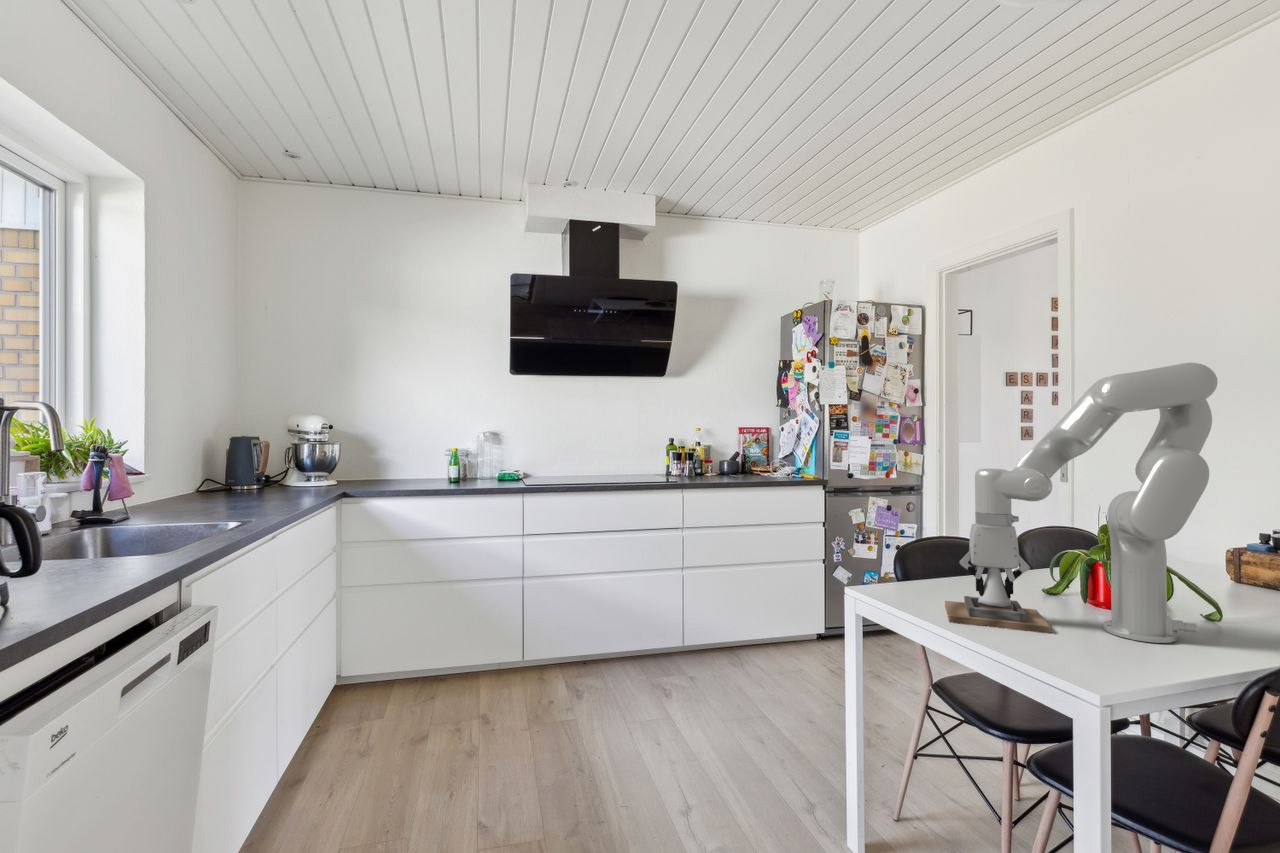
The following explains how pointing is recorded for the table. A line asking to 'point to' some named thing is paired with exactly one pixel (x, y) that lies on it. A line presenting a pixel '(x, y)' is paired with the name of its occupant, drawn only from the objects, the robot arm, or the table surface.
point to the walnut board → (995, 615)
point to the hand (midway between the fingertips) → (994, 594)
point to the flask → (994, 590)
